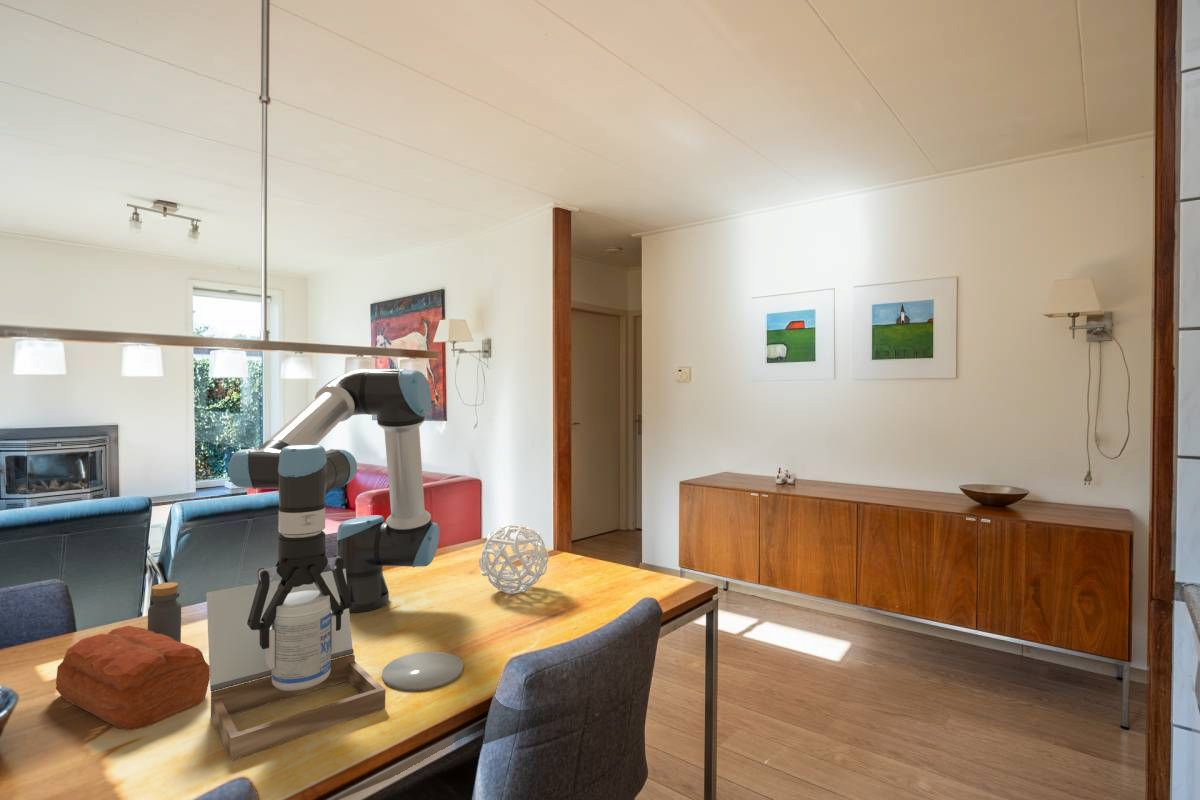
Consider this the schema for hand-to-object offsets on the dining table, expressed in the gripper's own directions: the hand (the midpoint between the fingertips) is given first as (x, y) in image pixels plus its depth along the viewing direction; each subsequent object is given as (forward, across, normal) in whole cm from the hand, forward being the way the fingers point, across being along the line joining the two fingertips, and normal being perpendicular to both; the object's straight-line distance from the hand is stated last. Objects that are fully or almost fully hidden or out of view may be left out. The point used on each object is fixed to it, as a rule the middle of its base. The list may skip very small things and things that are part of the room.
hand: (301, 656), depth 108 cm
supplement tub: (+4, 0, 0) cm, 4 cm away
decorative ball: (+11, +67, +32) cm, 75 cm away
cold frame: (+10, 0, 0) cm, 10 cm away
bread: (+10, -22, +25) cm, 35 cm away
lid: (-3, 0, +10) cm, 10 cm away
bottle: (+10, -15, +44) cm, 47 cm away
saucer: (+10, +24, 0) cm, 26 cm away
